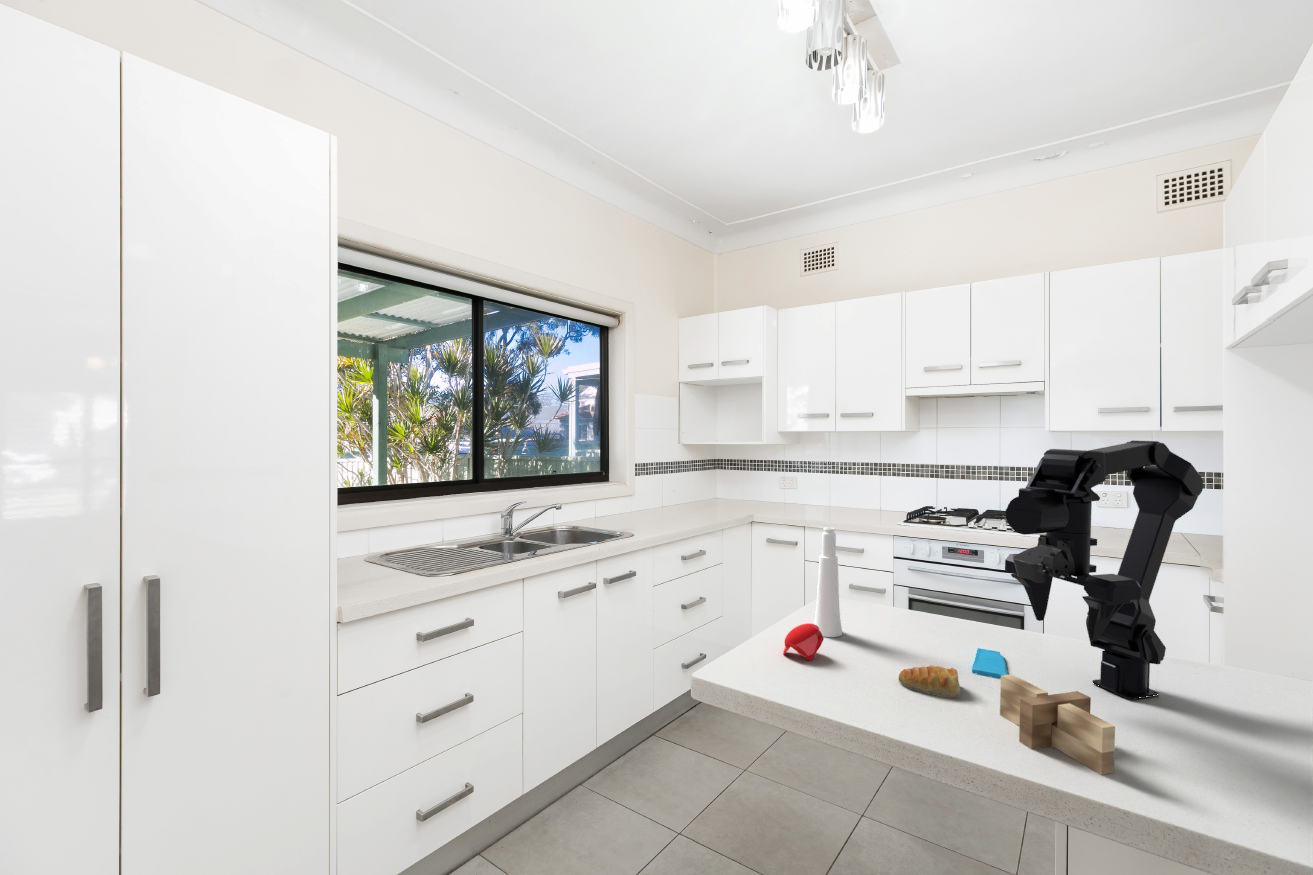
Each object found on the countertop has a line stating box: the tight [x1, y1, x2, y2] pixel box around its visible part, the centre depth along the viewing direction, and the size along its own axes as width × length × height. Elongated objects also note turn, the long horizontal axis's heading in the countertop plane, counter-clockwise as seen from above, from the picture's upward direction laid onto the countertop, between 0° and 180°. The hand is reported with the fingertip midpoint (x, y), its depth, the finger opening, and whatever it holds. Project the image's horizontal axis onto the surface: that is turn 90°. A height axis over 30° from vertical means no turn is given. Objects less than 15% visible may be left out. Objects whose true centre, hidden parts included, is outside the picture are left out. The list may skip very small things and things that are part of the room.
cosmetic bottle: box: [813, 526, 843, 638], centre depth 127 cm, size 6×6×22 cm
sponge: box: [971, 647, 1009, 679], centre depth 111 cm, size 2×12×6 cm
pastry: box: [898, 664, 961, 699], centre depth 101 cm, size 9×7×4 cm
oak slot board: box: [999, 674, 1116, 776], centre depth 84 cm, size 16×2×6 cm, turn 14°
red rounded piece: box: [782, 622, 825, 661], centre depth 114 cm, size 8×6×6 cm
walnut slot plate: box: [1018, 690, 1092, 750], centre depth 84 cm, size 10×2×6 cm, turn 104°
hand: (1065, 629), depth 94 cm, fingers open, 9 cm apart
